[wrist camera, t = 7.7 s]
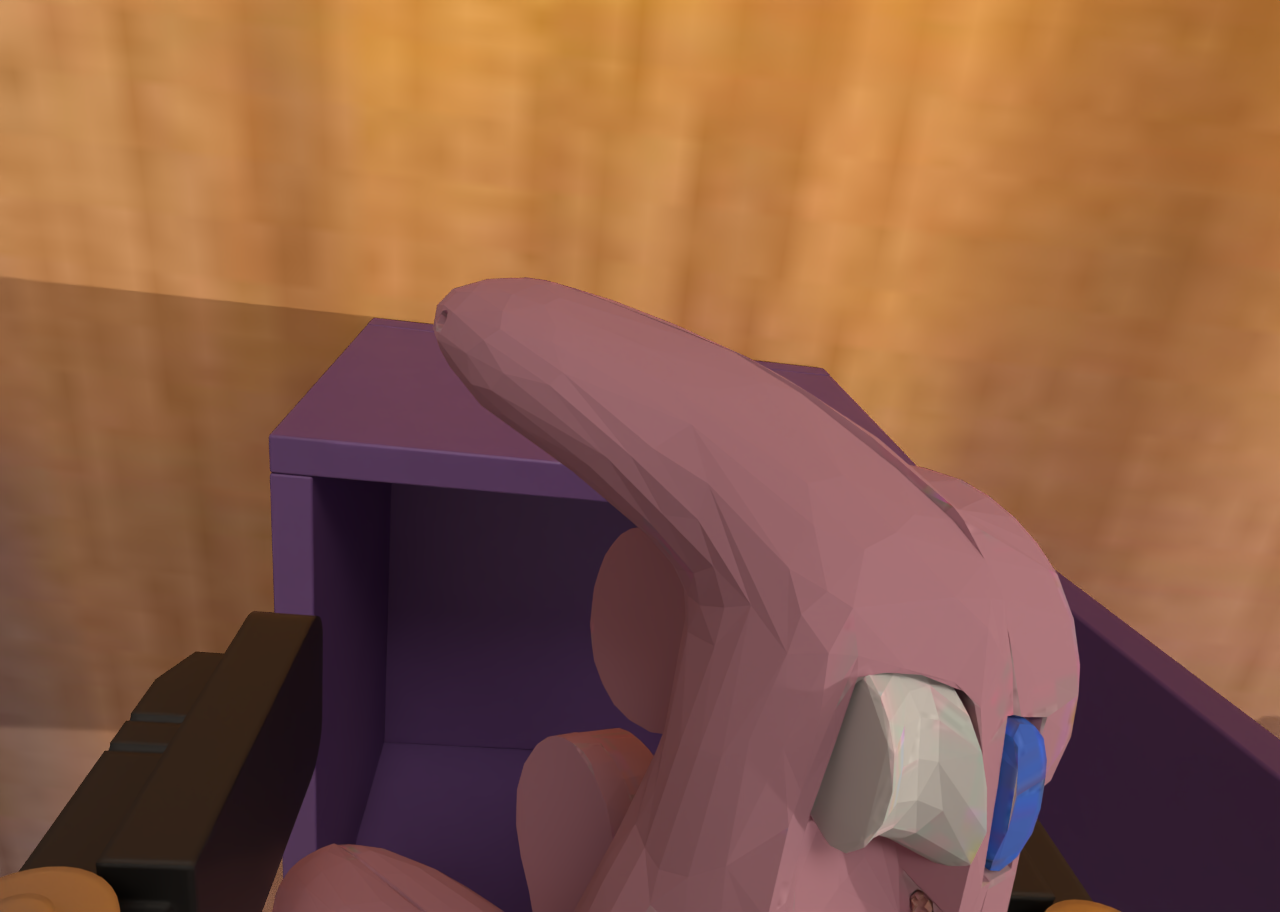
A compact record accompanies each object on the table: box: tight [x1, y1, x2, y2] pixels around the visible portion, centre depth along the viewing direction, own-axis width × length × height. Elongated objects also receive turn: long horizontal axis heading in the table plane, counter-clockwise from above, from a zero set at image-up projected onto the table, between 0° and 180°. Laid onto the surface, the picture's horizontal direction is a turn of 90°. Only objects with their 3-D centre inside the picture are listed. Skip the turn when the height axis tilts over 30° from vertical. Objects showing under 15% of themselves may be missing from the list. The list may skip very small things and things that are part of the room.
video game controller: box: [272, 277, 1080, 912], centre depth 9 cm, size 10×5×7 cm, turn 160°
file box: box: [269, 318, 916, 912], centre depth 24 cm, size 14×16×9 cm
